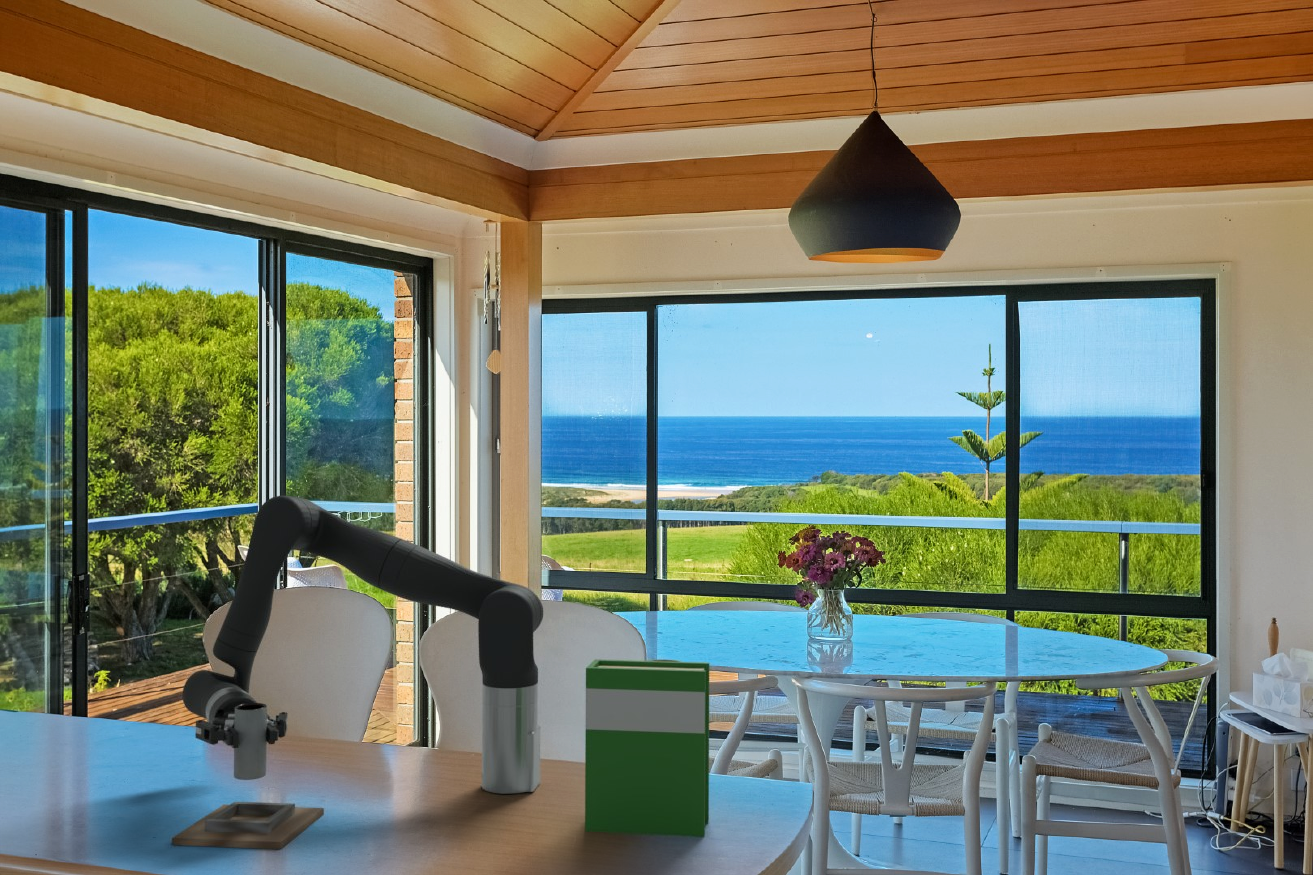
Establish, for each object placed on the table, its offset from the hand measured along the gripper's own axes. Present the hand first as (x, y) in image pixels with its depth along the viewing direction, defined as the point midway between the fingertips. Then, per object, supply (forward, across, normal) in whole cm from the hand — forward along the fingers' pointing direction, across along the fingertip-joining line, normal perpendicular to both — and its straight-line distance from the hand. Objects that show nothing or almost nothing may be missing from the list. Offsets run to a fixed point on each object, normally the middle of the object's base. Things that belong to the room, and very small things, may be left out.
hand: (254, 739), depth 173 cm
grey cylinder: (-3, 0, +6) cm, 7 cm away
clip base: (-2, 0, +14) cm, 14 cm away
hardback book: (+24, +52, +13) cm, 59 cm away
